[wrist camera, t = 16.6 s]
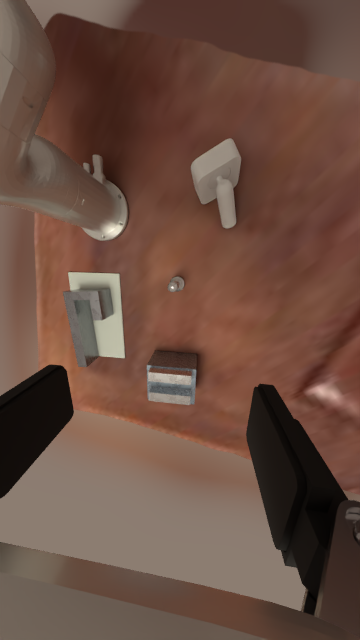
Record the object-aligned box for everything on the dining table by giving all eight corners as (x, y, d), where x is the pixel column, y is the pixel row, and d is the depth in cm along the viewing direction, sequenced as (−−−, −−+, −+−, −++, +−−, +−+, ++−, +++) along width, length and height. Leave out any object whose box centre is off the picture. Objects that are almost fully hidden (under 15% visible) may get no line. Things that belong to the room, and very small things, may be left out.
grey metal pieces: (153, 275, 45) (140, 278, 35) (201, 277, 44) (201, 280, 34) (155, 384, 54) (145, 410, 45) (195, 388, 53) (193, 416, 43)
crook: (79, 288, 48) (62, 291, 42) (110, 288, 47) (97, 291, 41) (91, 356, 54) (78, 366, 48) (119, 356, 53) (109, 367, 47)
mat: (69, 272, 48) (68, 272, 47) (119, 273, 46) (119, 273, 46) (81, 353, 54) (80, 354, 54) (125, 357, 53) (124, 358, 53)
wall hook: (214, 238, 41) (212, 216, 31) (196, 197, 41) (189, 162, 31) (249, 220, 39) (259, 191, 29) (230, 177, 39) (234, 134, 29)
